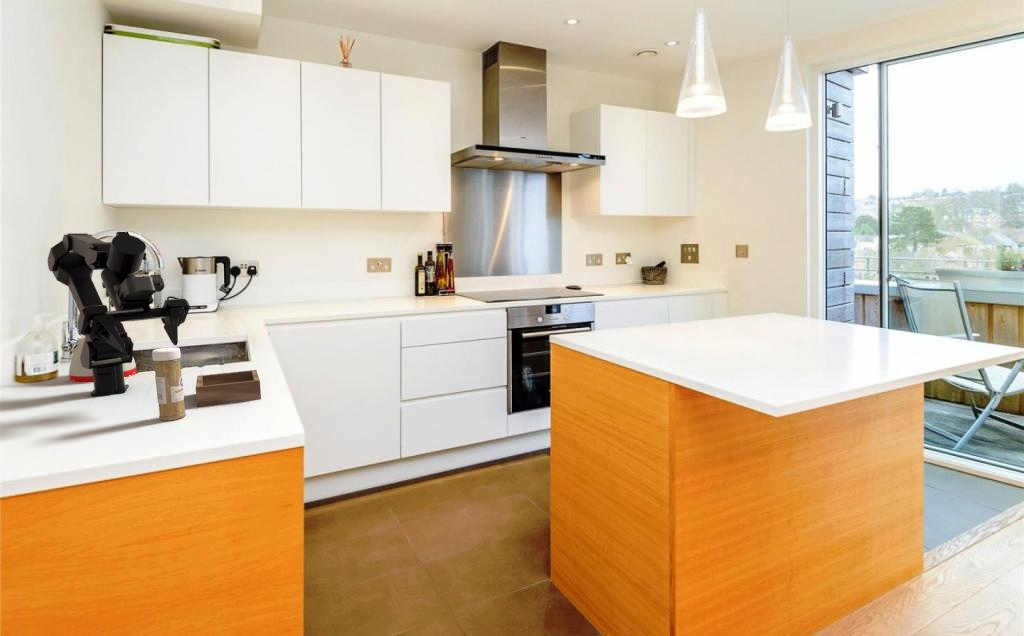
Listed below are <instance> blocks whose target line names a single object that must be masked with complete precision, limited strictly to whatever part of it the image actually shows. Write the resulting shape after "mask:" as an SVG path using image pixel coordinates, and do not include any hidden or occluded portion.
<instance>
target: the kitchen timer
mask: <svg viewBox="0 0 1024 636" xmlns="http://www.w3.org/2000/svg"><path fill="white" fill-rule="evenodd" d="M83 336H84V337H83V338H81V340H80V341H79V343H78V344H77V346H76V347H75V348H73V350H71V352H72V357H71V360H70V365H69V369H68V371H69V372H68V376H69V381H70V380H71V381H72V382H71V381H70V382H71V383H76V382H92V383H94V382H93V373H92V369H86V368H84V367H82V364H81V360H80V356H81V353H82V349H83V345H84V342H85V338H86V335H83ZM111 360H112V359H111ZM104 361H105V360H104ZM92 362H94V361H92ZM97 362H98V361H97ZM137 371H138V369H137V365H136V361H135V358H134V357H133V359H132V363H124V364H123V372H124V377H126V378H128V377H132V376H134V375H136V374H137ZM129 375H131V376H129Z"/></svg>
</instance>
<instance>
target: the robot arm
mask: <svg viewBox="0 0 1024 636" xmlns="http://www.w3.org/2000/svg"><path fill="white" fill-rule="evenodd" d="M146 248H147V245H146V243H145V241H143V240H142V239H141V238H138V237H136V236H133V235H130V233H129V231H116V233H115V236H114V237H113V238H112V239H111V241H109V242H108V241H107V242H105V241H104V240H101V239H99V238H96V237H94V236H93V235H92V234H89V233H85V232H84V233H81V232H80V233H71V232H70V233H66V234H63V237H62V240H61V241H59V242H58V243H57V244H55V245H54V246H52V247H51V248H50V250H49V252H48V256H47V267H48V271H50V272H51V273H52V274H53V277H54V278H55V279H56V281H58V282H60V283H61V284H63V285H65V286H67V287H68V289H69V291H70V294H71V296H72V298H73V301H74V303H75V305H76V307H77V310H78V312H79V315H78V318H77V324H76V325H77V328H78V329H77V330H78V331H79V334H80V335H83V336H84V335H86V338H85V342H84V345H83V349H82V353H81V356H80V360H81V364H82V367H84V368H86V369H92V373H93V382H92V383H93V390H91V392H90V394H89V395H90V397H94V396H95V397H96V396H104V395H113V394H121V393H126V392H127V391H128V389H129V388H130V384H126V383H125V378H124V372H123V364H124V363H132V359H133V358H134V342H133V340H132V338H131V336H129V335H128V332H127V331H126V329H125V327H124V324H123V322H137V321H139V322H140V321H146V320H155V319H160V320H161V323H162V324H163V329H164V331H165V333H166V334H167V336H168V338H169V340H170V342H171V344H172V345H173V346H174V347H175V346H177V345H178V343H179V338H178V337H179V327H180V325H182V324H184V323H185V322H186V319H187V316H188V313H189V312H190V308H191V306H190V303H189V301H188V300H187V299H186V298H173V299H172V298H171V299H165V300H164V303H163V306H162V307H151V306H150V305H152V304H153V303H154V300H155V299H154V298H153V295H155V293H157V292H158V293H160V292H162V291H163V290H164V289H165V282H164V279H163V277H162V276H161V274H150V275H145V276H143V275H142V276H141V275H140V276H136V274H135V273H136V272H139V271H140V269H141V266H142V262H143V260H144V256H145V252H146V250H147V249H146ZM94 271H101V272H100V278H101V281H102V283H101V284H102V289H105V290H106V291H107V294H108V297H109V298H110V301H109V304H110V307H111V308H114V309H115V310H109V308H108V306H107V305H106V304H104V303H103V301H102V299H101V296H100V294H99V292H98V290H97V288H96V286H95V284H94V281H93V279H92V278H93V273H94ZM111 359H112V360H111ZM104 360H105V361H104ZM92 361H94V362H92ZM97 361H98V362H97Z"/></svg>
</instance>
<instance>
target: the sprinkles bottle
mask: <svg viewBox="0 0 1024 636" xmlns="http://www.w3.org/2000/svg"><path fill="white" fill-rule="evenodd" d="M151 356H152V360H153V364H154V373H155V374H154V375H155V388H156V398H157V399H156V400H157V403H158V411H159V413H158V414H159V416H158V419H159V420H161V421H176V420H179V419H182V418H184V417H186V416H187V412H186V410H185V409H186V408H185V400H184V399H185V395H184V393H185V392H184V383H183V376H182V368H181V367H182V366H181V349H180V348H179V347H175V346H174V347H169V346H168V347H162V348H157V349H153V350H152V352H151Z"/></svg>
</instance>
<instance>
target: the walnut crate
mask: <svg viewBox="0 0 1024 636" xmlns="http://www.w3.org/2000/svg"><path fill="white" fill-rule="evenodd" d="M195 383H196V384H195V396H196V407H197V408H200V407H209V406H215V405H222V404H223V405H224V404H230V403H240V402H247V401H255V400H261V399H262V393H261V380H260V377H259V374H258V370H257V369H252V370H249V369H248V370H239V371H231V372H221V373H212V374H203V375H197V377H196V382H195Z"/></svg>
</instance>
